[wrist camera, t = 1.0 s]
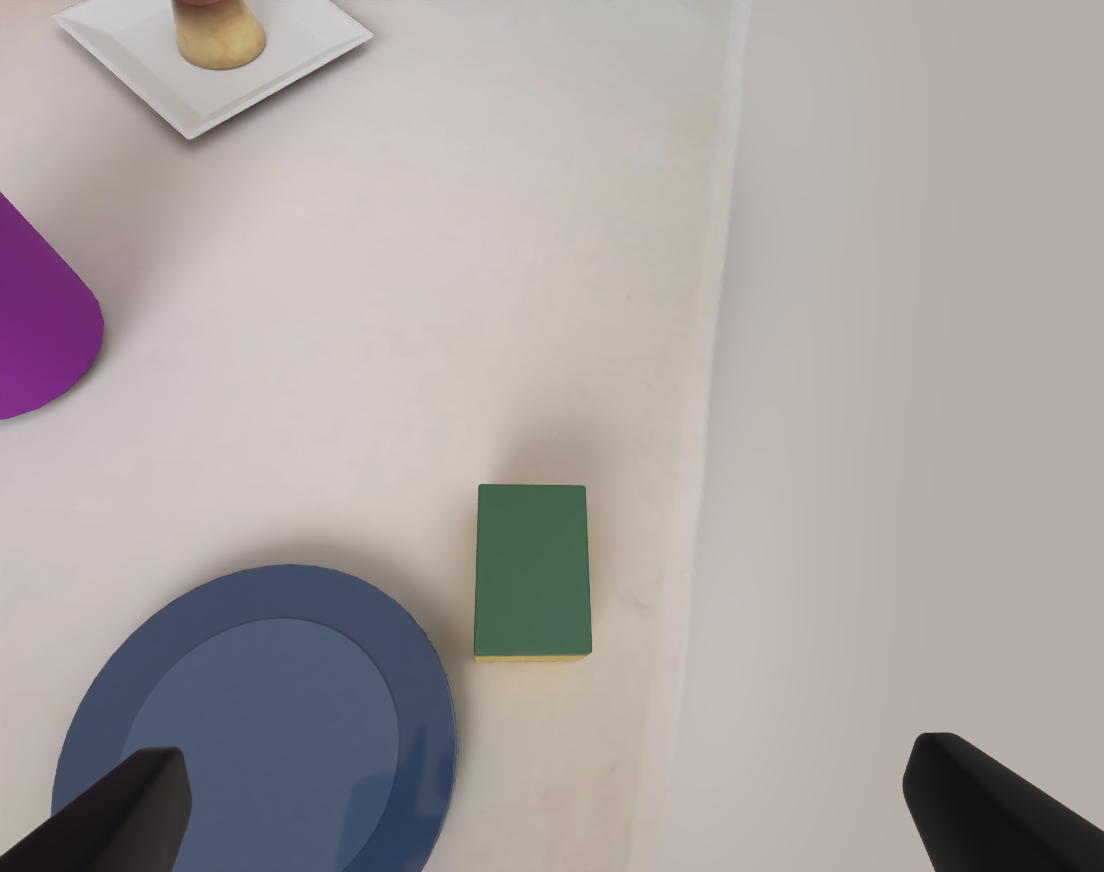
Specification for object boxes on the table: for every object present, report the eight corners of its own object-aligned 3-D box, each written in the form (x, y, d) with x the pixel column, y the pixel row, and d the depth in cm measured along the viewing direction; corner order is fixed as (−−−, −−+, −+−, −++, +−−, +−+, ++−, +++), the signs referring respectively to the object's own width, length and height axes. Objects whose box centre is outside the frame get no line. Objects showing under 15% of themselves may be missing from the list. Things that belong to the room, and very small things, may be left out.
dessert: (62, 35, 35) (2, -61, 31) (245, -50, 40) (215, -145, 35) (197, 158, 33) (153, 72, 29) (378, 53, 37) (363, -35, 33)
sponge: (579, 661, 25) (592, 653, 22) (475, 662, 25) (473, 654, 22) (574, 511, 27) (585, 484, 24) (479, 510, 27) (478, 483, 24)
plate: (451, 973, 21) (448, 988, 20) (20, 997, 20) (-10, 1014, 19) (465, 570, 26) (464, 563, 25) (124, 569, 25) (105, 562, 24)
